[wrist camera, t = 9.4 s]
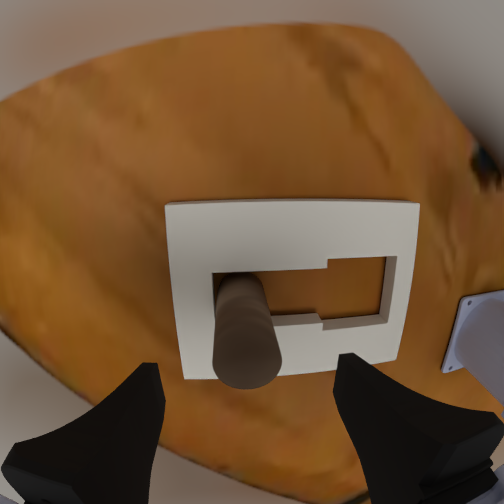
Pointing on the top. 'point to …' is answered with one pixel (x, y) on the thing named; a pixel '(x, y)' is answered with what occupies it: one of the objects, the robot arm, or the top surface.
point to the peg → (244, 334)
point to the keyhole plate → (290, 258)
